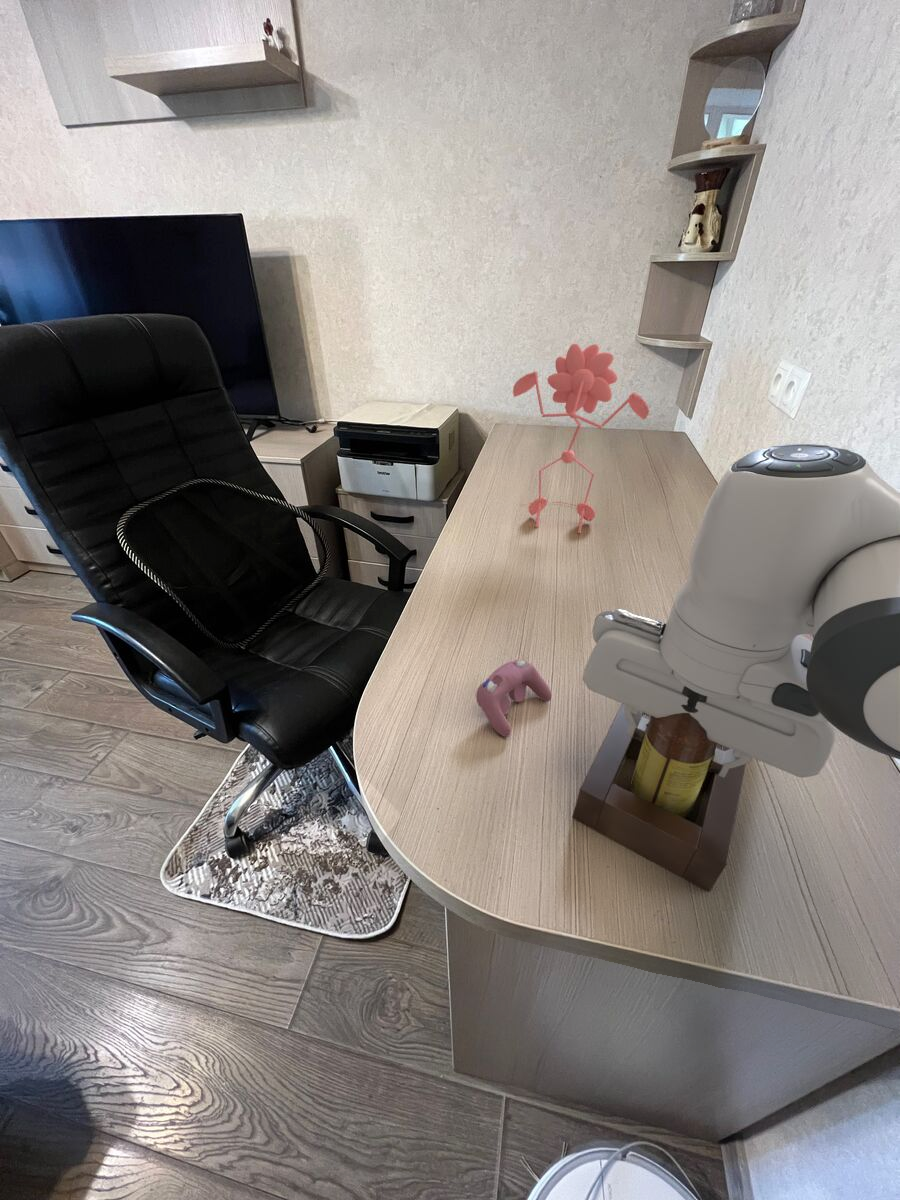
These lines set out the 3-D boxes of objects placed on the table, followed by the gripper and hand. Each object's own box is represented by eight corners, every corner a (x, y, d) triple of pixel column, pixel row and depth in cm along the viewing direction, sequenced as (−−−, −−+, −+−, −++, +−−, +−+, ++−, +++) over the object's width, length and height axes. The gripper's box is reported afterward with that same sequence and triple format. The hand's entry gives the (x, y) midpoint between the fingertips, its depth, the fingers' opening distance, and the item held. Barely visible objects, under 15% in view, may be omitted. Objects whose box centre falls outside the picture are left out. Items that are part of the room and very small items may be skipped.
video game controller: (530, 694, 69) (516, 648, 67) (556, 699, 65) (542, 651, 64) (481, 733, 63) (465, 685, 62) (507, 741, 60) (491, 690, 58)
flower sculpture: (620, 541, 103) (664, 354, 83) (497, 524, 109) (511, 345, 88) (621, 511, 115) (659, 341, 95) (510, 497, 121) (524, 334, 101)
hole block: (745, 722, 63) (759, 694, 61) (709, 892, 46) (727, 864, 44) (638, 680, 69) (646, 653, 66) (571, 817, 52) (579, 789, 50)
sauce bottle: (697, 802, 54) (764, 664, 43) (673, 843, 50) (740, 703, 39) (640, 767, 58) (688, 632, 46) (614, 803, 54) (659, 665, 43)
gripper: (586, 619, 44) (563, 726, 52) (868, 719, 35) (788, 830, 43) (609, 587, 48) (585, 689, 56) (865, 668, 39) (793, 777, 47)
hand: (675, 751), depth 49 cm, fingers closed on sauce bottle, 6 cm apart
